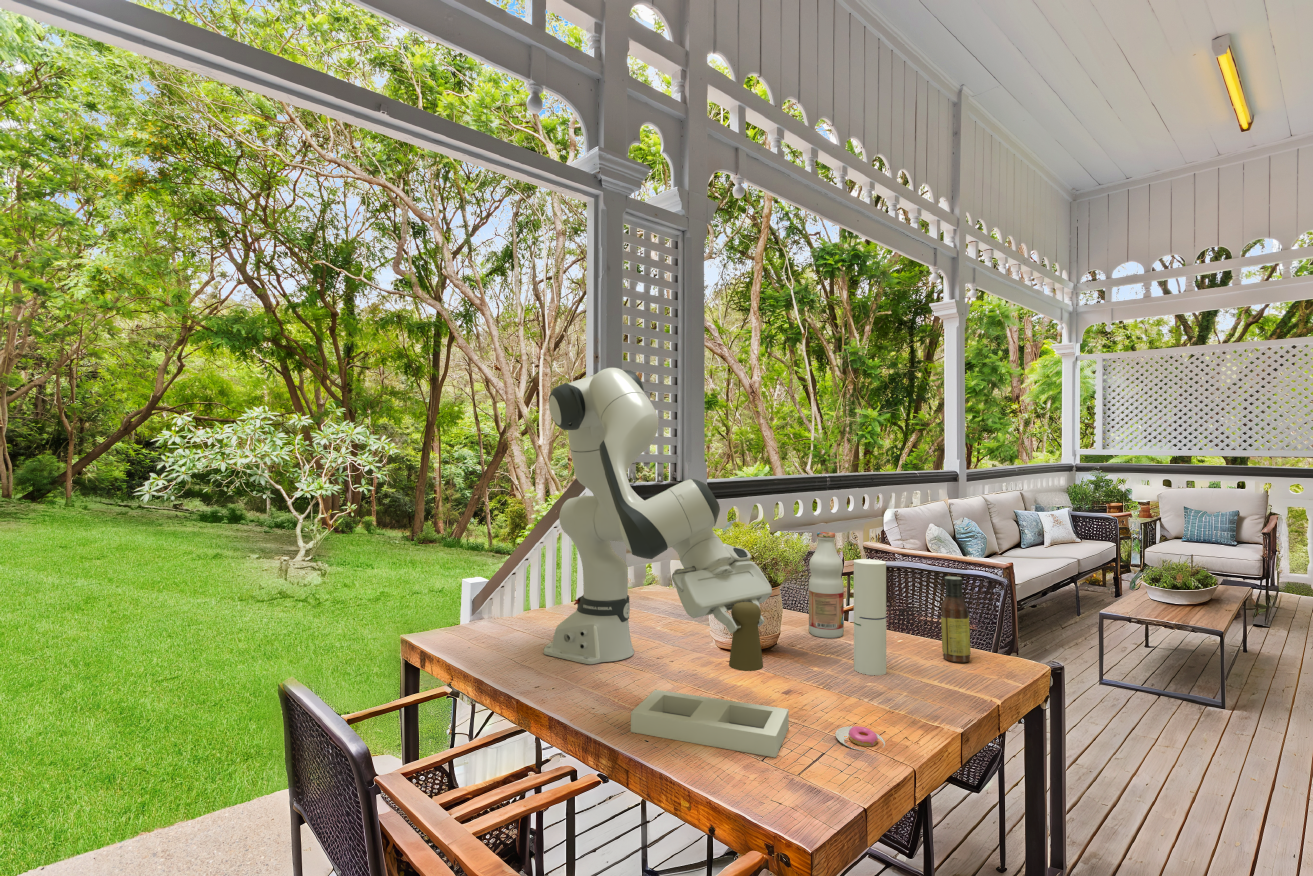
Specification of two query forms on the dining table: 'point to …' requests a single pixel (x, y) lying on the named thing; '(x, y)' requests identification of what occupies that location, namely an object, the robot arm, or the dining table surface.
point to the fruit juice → (826, 589)
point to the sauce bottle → (955, 623)
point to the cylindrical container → (870, 616)
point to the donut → (858, 736)
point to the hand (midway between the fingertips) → (748, 627)
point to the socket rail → (712, 722)
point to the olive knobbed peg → (746, 638)
